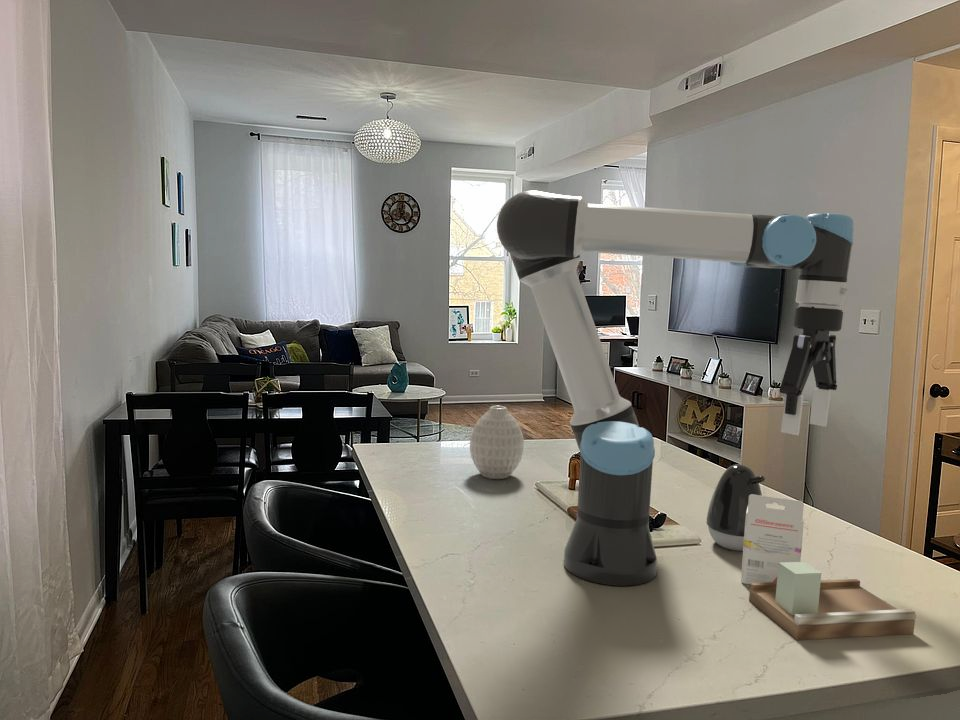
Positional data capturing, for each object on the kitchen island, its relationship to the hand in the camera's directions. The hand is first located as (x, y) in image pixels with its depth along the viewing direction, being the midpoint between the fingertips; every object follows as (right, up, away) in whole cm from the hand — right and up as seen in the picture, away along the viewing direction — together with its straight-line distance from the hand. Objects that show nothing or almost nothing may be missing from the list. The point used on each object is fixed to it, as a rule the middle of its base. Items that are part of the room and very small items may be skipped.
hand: (804, 429), depth 126 cm
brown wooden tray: (-6, -25, -20) cm, 33 cm away
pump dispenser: (-10, -22, +7) cm, 25 cm away
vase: (-53, -16, +48) cm, 73 cm away
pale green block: (-11, -23, -23) cm, 34 cm away
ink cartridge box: (-10, -24, -9) cm, 28 cm away
